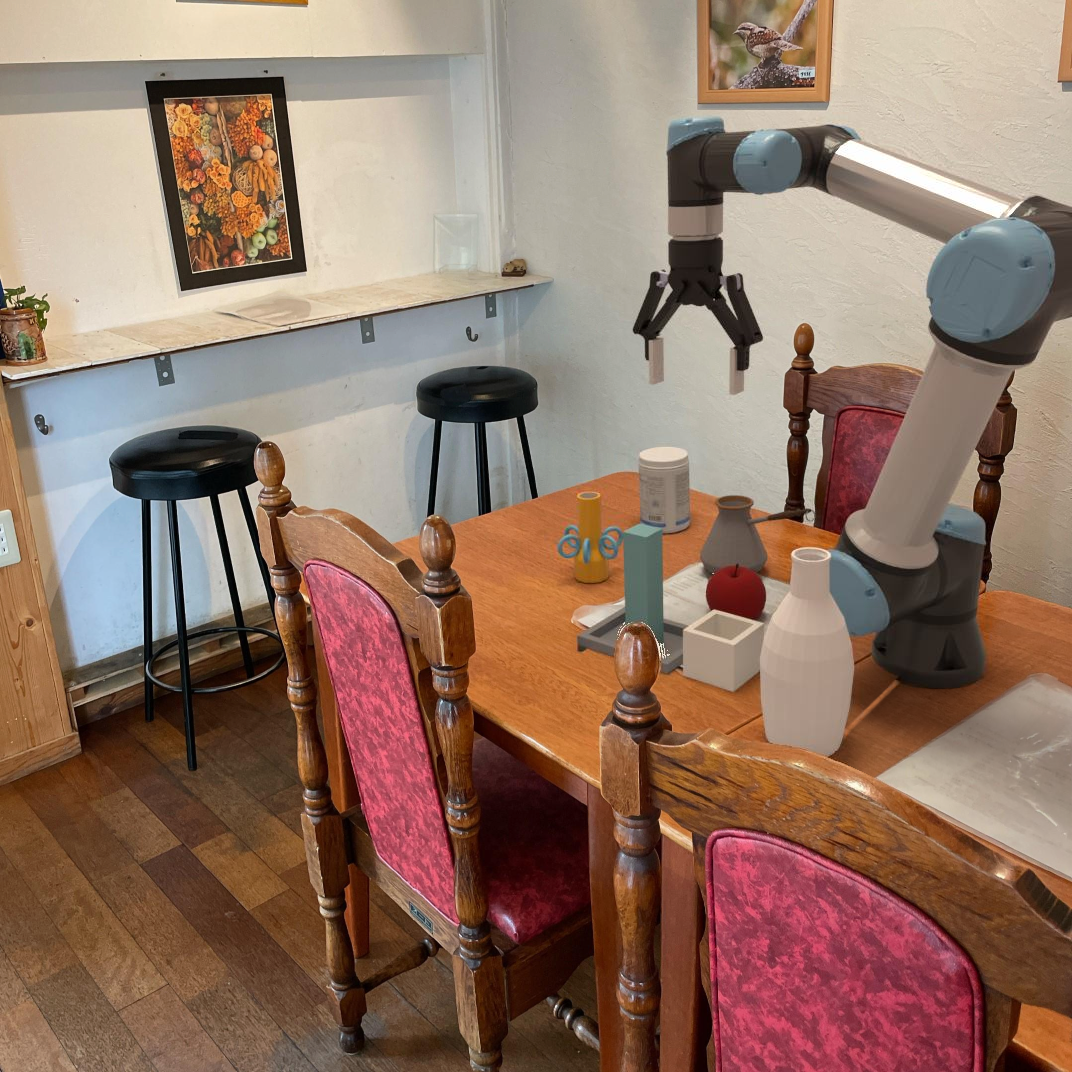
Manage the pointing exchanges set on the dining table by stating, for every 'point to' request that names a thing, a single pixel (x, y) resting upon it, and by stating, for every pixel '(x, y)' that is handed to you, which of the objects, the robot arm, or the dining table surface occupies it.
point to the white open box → (722, 649)
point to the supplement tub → (664, 488)
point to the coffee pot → (738, 535)
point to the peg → (644, 577)
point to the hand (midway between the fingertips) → (695, 387)
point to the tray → (606, 632)
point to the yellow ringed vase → (590, 541)
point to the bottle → (807, 661)
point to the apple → (736, 592)
